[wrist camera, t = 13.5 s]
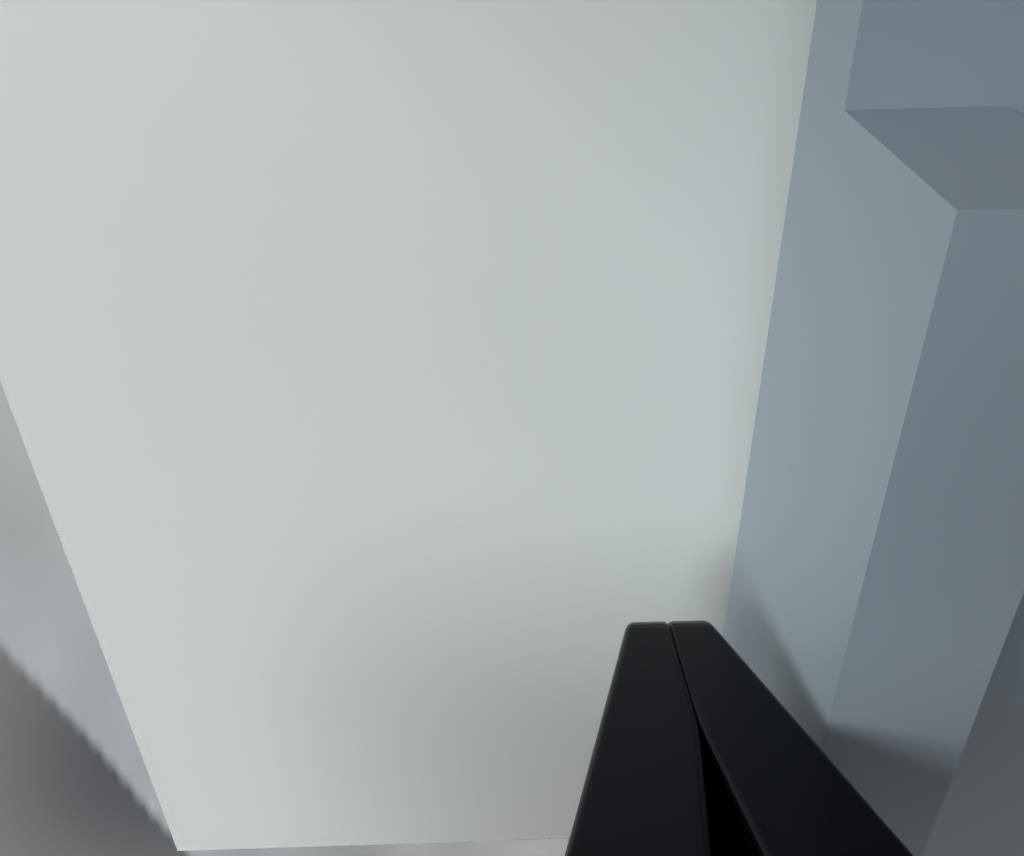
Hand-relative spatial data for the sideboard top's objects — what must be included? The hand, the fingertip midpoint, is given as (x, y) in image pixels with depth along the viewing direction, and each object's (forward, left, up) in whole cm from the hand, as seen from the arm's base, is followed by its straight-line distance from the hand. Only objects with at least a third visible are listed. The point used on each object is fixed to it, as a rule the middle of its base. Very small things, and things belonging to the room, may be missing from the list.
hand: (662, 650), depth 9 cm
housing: (0, +4, -7) cm, 8 cm away
